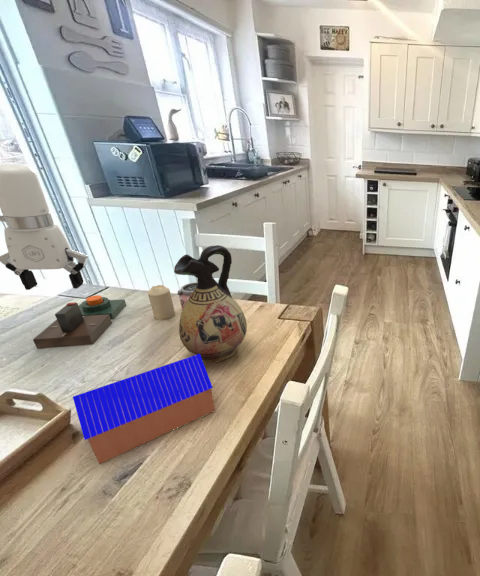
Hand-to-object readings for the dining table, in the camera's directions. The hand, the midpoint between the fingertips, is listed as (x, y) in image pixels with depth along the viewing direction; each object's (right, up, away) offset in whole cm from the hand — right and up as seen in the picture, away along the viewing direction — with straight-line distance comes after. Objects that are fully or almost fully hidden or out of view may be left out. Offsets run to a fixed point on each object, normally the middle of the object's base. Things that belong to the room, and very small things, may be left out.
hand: (55, 286), depth 83 cm
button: (-3, -5, +15) cm, 16 cm away
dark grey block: (0, -11, +5) cm, 12 cm away
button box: (-4, -8, +17) cm, 19 cm away
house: (+37, -27, -16) cm, 49 cm away
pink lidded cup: (+28, -11, +17) cm, 34 cm away
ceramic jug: (+41, -18, +5) cm, 45 cm away
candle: (+16, -9, +18) cm, 26 cm away
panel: (-1, -13, +6) cm, 15 cm away
